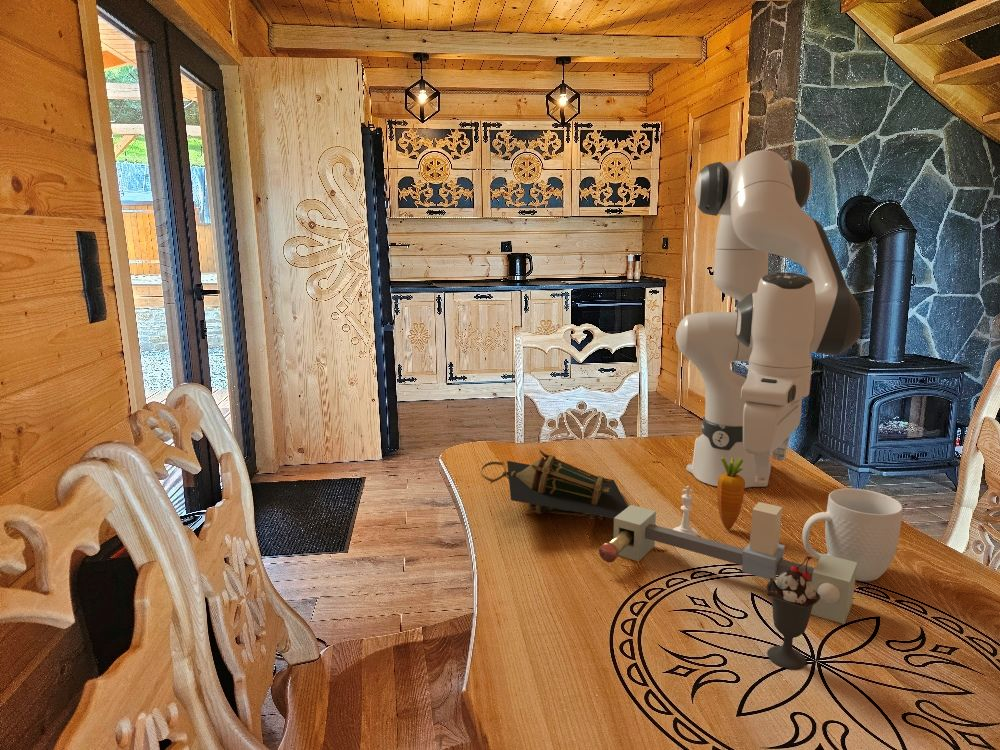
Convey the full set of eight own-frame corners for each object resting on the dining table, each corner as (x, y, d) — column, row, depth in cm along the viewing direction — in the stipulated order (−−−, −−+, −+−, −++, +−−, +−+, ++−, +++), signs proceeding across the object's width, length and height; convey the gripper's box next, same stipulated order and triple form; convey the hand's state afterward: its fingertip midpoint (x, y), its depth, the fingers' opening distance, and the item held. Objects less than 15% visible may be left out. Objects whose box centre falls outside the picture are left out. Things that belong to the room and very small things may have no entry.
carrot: (708, 527, 130) (713, 455, 127) (727, 522, 133) (732, 451, 129) (728, 537, 126) (733, 463, 123) (746, 532, 128) (752, 458, 125)
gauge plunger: (623, 537, 121) (624, 521, 121) (640, 542, 120) (640, 525, 119) (598, 559, 114) (599, 542, 113) (615, 564, 112) (616, 547, 111)
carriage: (751, 558, 112) (756, 498, 110) (782, 566, 109) (788, 505, 107) (740, 573, 107) (745, 510, 105) (773, 582, 104) (779, 518, 102)
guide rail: (629, 539, 126) (630, 504, 124) (852, 603, 104) (857, 562, 103) (611, 555, 120) (612, 519, 118) (843, 626, 98) (848, 583, 97)
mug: (811, 586, 109) (819, 513, 106) (788, 554, 120) (795, 486, 117) (906, 590, 108) (917, 515, 105) (875, 557, 118) (883, 488, 115)
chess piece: (699, 542, 124) (702, 492, 122) (672, 540, 125) (674, 490, 123) (697, 530, 129) (700, 482, 127) (671, 528, 130) (673, 480, 128)
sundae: (819, 655, 92) (830, 556, 88) (803, 680, 87) (814, 576, 83) (771, 636, 96) (780, 541, 93) (753, 659, 91) (761, 559, 88)
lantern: (625, 558, 127) (473, 520, 125) (603, 518, 149) (474, 485, 148) (645, 491, 125) (491, 452, 123) (620, 461, 148) (490, 427, 146)
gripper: (774, 367, 111) (767, 446, 114) (737, 391, 95) (730, 482, 98) (815, 372, 108) (807, 453, 110) (783, 397, 91) (775, 491, 94)
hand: (771, 467), depth 104 cm, fingers open, 8 cm apart
